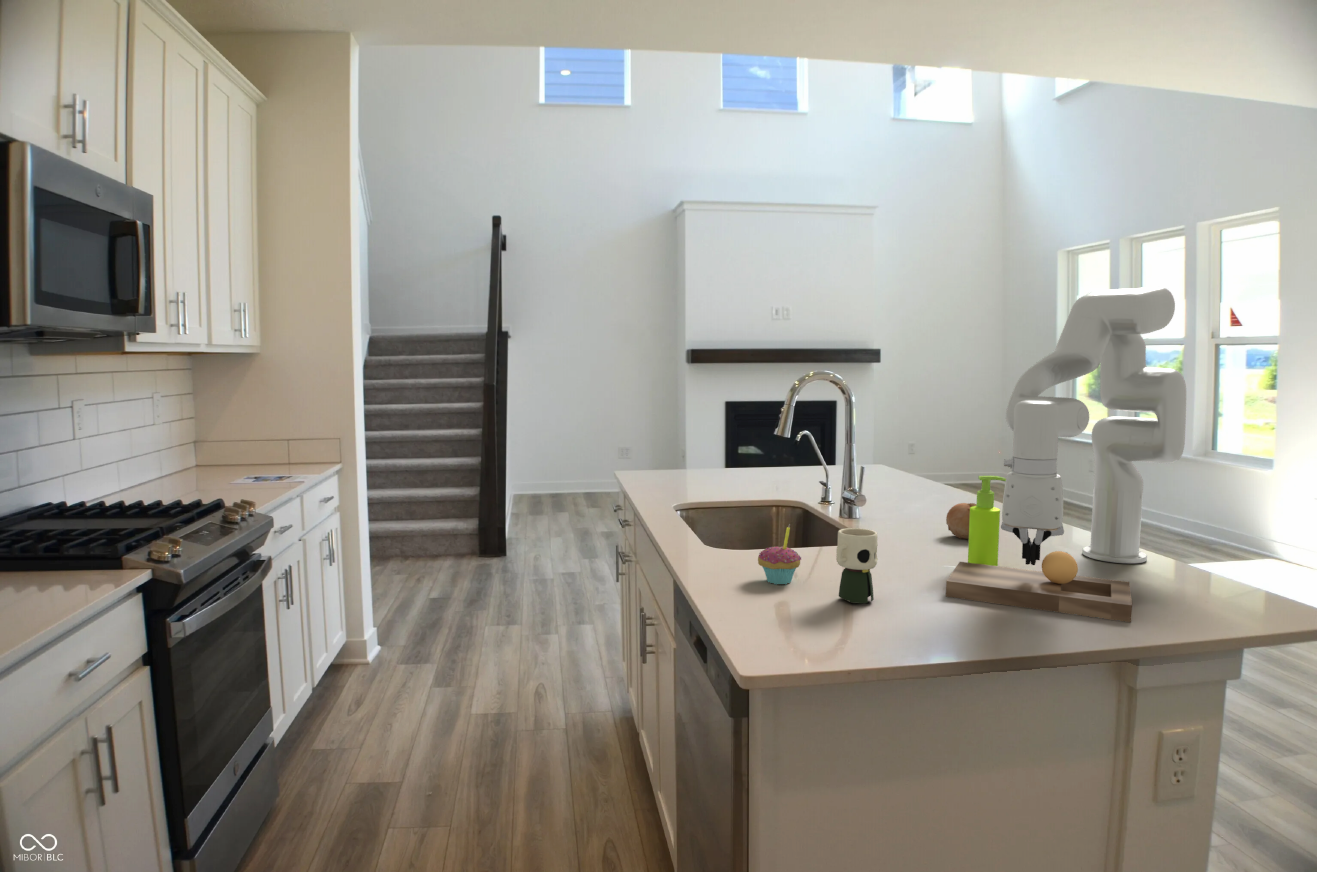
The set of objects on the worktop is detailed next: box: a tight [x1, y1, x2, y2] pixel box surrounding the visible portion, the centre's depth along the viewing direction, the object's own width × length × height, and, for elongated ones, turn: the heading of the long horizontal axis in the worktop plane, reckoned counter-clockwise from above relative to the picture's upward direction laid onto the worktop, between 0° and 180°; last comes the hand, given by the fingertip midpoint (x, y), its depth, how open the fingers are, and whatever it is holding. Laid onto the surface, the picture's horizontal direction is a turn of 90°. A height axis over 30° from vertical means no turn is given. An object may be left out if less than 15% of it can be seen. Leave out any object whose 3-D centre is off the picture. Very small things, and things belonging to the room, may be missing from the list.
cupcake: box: [757, 523, 802, 585], centre depth 158 cm, size 9×8×12 cm
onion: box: [945, 502, 977, 540], centre depth 196 cm, size 10×9×10 cm
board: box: [945, 561, 1133, 623], centre depth 148 cm, size 16×30×3 cm, turn 61°
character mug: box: [835, 527, 878, 604], centre depth 145 cm, size 11×7×13 cm, turn 127°
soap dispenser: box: [967, 475, 1007, 566], centre depth 166 cm, size 6×7×20 cm
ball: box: [1041, 550, 1079, 584], centre depth 146 cm, size 6×6×6 cm
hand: (1030, 562), depth 149 cm, fingers closed
